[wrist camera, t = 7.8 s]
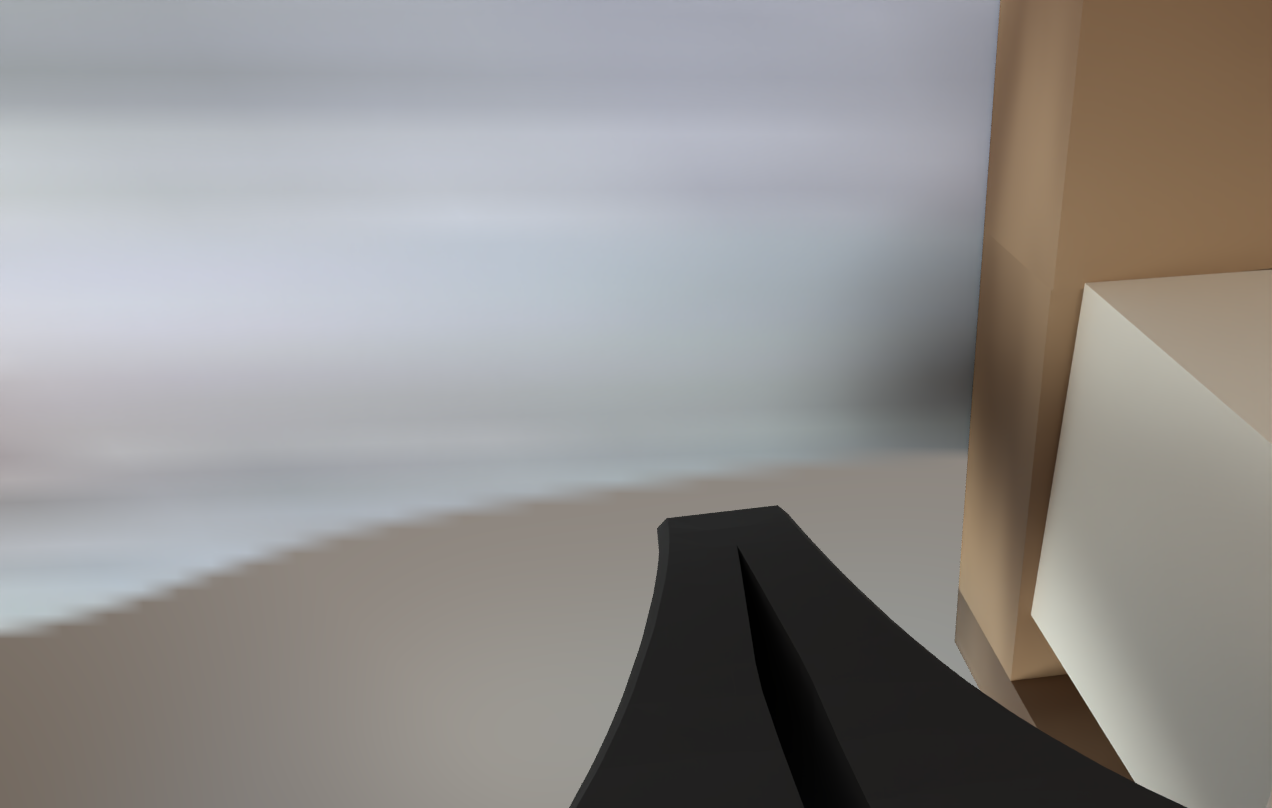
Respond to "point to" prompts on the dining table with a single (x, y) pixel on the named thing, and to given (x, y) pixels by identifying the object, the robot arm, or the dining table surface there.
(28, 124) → the dining table surface
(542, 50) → the dining table surface
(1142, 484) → the cream block
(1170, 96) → the trap board
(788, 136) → the dining table surface
